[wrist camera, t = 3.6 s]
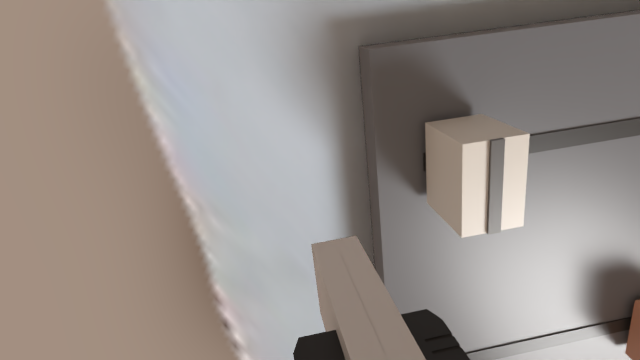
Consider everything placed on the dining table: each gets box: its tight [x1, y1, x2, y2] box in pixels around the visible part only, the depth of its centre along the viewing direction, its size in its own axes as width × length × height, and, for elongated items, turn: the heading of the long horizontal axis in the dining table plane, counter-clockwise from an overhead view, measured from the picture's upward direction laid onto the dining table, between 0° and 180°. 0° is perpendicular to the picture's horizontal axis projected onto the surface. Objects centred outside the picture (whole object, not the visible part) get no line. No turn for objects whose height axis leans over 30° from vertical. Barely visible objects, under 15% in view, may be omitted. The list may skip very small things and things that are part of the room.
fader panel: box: [359, 10, 640, 360], centre depth 27 cm, size 26×22×2 cm
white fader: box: [425, 114, 530, 238], centre depth 21 cm, size 4×3×4 cm
